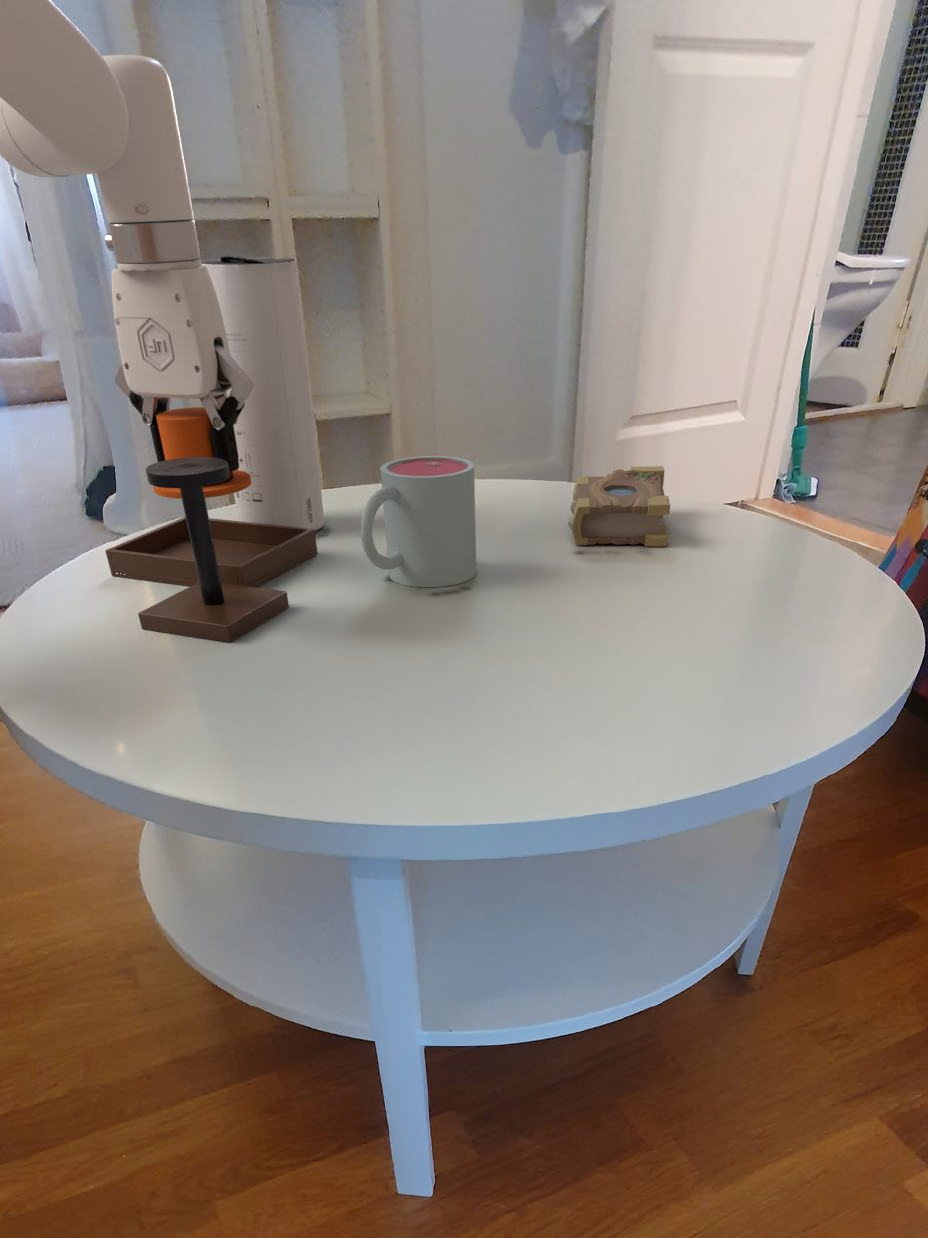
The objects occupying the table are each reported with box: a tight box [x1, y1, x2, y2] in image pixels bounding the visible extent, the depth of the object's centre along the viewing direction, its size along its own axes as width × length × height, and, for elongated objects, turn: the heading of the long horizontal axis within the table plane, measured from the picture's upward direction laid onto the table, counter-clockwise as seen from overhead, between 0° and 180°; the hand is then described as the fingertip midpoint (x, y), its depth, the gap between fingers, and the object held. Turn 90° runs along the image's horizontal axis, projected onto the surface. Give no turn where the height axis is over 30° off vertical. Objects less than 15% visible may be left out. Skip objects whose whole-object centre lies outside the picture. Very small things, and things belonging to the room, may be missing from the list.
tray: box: [105, 516, 319, 588], centre depth 101 cm, size 17×14×3 cm
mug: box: [360, 455, 477, 588], centre depth 94 cm, size 14×9×10 cm
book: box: [567, 465, 671, 547], centre depth 107 cm, size 15×11×5 cm
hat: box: [152, 406, 251, 500], centre depth 95 cm, size 10×10×7 cm
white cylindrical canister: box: [201, 255, 325, 532], centre depth 104 cm, size 11×10×26 cm
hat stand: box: [137, 457, 290, 643], centre depth 85 cm, size 10×10×13 cm
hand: (199, 467), depth 96 cm, fingers closed on hat, 6 cm apart
